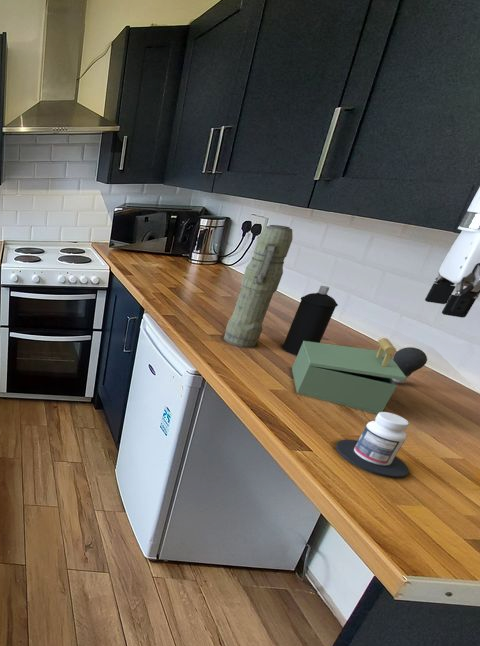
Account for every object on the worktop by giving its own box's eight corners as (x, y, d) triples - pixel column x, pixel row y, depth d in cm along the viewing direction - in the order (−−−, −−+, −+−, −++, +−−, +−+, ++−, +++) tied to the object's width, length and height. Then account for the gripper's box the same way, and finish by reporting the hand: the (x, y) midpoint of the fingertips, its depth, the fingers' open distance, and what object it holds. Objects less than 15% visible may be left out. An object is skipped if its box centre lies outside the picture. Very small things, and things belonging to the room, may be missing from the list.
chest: (365, 386, 101) (379, 359, 98) (380, 415, 89) (396, 386, 86) (291, 368, 109) (302, 343, 105) (296, 393, 97) (308, 365, 94)
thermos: (256, 338, 126) (297, 225, 112) (256, 352, 117) (301, 231, 103) (223, 331, 131) (259, 222, 116) (221, 344, 122) (260, 227, 107)
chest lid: (386, 354, 97) (394, 333, 95) (405, 380, 85) (414, 356, 83) (302, 343, 105) (308, 323, 103) (309, 365, 94) (315, 343, 92)
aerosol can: (320, 359, 114) (350, 293, 106) (286, 354, 117) (313, 288, 109) (309, 348, 121) (336, 284, 113) (277, 343, 124) (302, 281, 116)
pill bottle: (365, 445, 78) (386, 407, 75) (397, 464, 74) (422, 424, 70) (346, 449, 77) (366, 411, 73) (377, 468, 72) (401, 428, 69)
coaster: (398, 454, 77) (399, 452, 77) (414, 487, 69) (416, 484, 69) (332, 435, 82) (333, 433, 82) (340, 463, 74) (342, 461, 74)
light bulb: (417, 388, 101) (438, 352, 97) (400, 389, 100) (420, 353, 96) (393, 376, 106) (411, 343, 102) (375, 378, 105) (394, 343, 101)
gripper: (547, 232, 67) (489, 326, 74) (498, 221, 80) (452, 301, 87) (482, 227, 71) (432, 316, 78) (445, 217, 84) (405, 294, 91)
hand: (443, 308), depth 83 cm, fingers open, 9 cm apart
